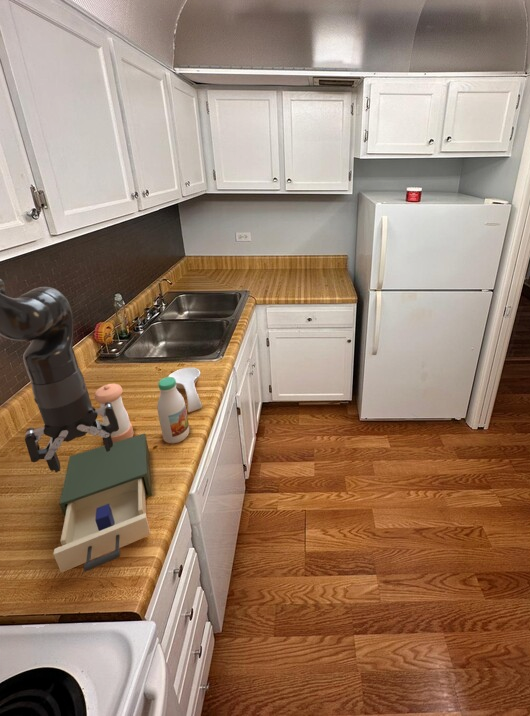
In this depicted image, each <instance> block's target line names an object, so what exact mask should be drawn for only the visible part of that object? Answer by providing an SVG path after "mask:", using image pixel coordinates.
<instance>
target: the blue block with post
mask: <svg viewBox="0 0 530 716" xmlns="http://www.w3.org/2000/svg"><path fill="white" fill-rule="evenodd" d="M95 521H96V524H97V527H98V530H99V531H101V530H103V529H106V528H108V527H111V526H113V525H115V521H114V518H113V515H112V509H111V506H110V505H109V504H107V505H104V506H101V507H99V508H97V509H96V518H95Z"/></svg>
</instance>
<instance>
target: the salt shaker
mask: <svg viewBox="0 0 530 716" xmlns="http://www.w3.org/2000/svg"><path fill="white" fill-rule="evenodd" d="M123 390H124V389H123V388H122V386H121V385H120V384H118V383H108V384H107V383H106V384H105V385H102V386H100V387H99V388H97V390H96V391H95V393H94V400H95V402H97V403H98V404H99V406H100V407H99V408H101V407H104V405H105V403H107V402H110V403H111V404H112V407H113V410H114V412H115V415H116V418H117V421H118V425H119V430H118V431H116V432H112V433H111V438H112V442H113V443H115V442H118V441H121V440H125V439H128V438H131V437H134V436H135V435H134V428H133V424H132V421H130V417H129V414H128V412H127V410H126V408H125V405H124V402H123V399H122V395H123V392H124V391H123ZM101 418H102V420H101V421H102V424H104V425H109V424H110V423H109V420H108V418H105V417H102V416H101Z"/></svg>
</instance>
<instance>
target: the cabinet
mask: <svg viewBox="0 0 530 716" xmlns="http://www.w3.org/2000/svg"><path fill="white" fill-rule="evenodd" d="M151 471H152V470H151V454H150V449H149V444H148V440H147V435H146V433H145V432H144V433H141V434H138V435H134V436H133V437H131V438H128V439H125V440H121V441H118V442H115V443H113V447H111V448H110V451H108V452H106V449H105V445H101V446H99V447H95V448H92V449H88V450H85V451H82V452H78V453H75V454H72V455H70V456H69V458H68V462H67V468H66V472H65V476H64V481H63V484H62V485H63V486H62V489H61V490H62V491H61V495H60V499H59V503H58V504H59V506H60V509H61V512H62V515H63V517H64V518H65V516H66V510H67V505H68V503H71V502H74V501H77V500H79V499H82V498H85V497H88V496H91V495H94V494H96V493H99V492H102V491H105V490H108V489H111V488H113V487H116V486H119V485H122V484H125V483H128V482H130V481H133V480H136V479H139V478H142V477H143V480H144V484H145V499H146V498H148V497H151V496H152V495H153V492H152V491H153V489H152V472H151Z"/></svg>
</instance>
